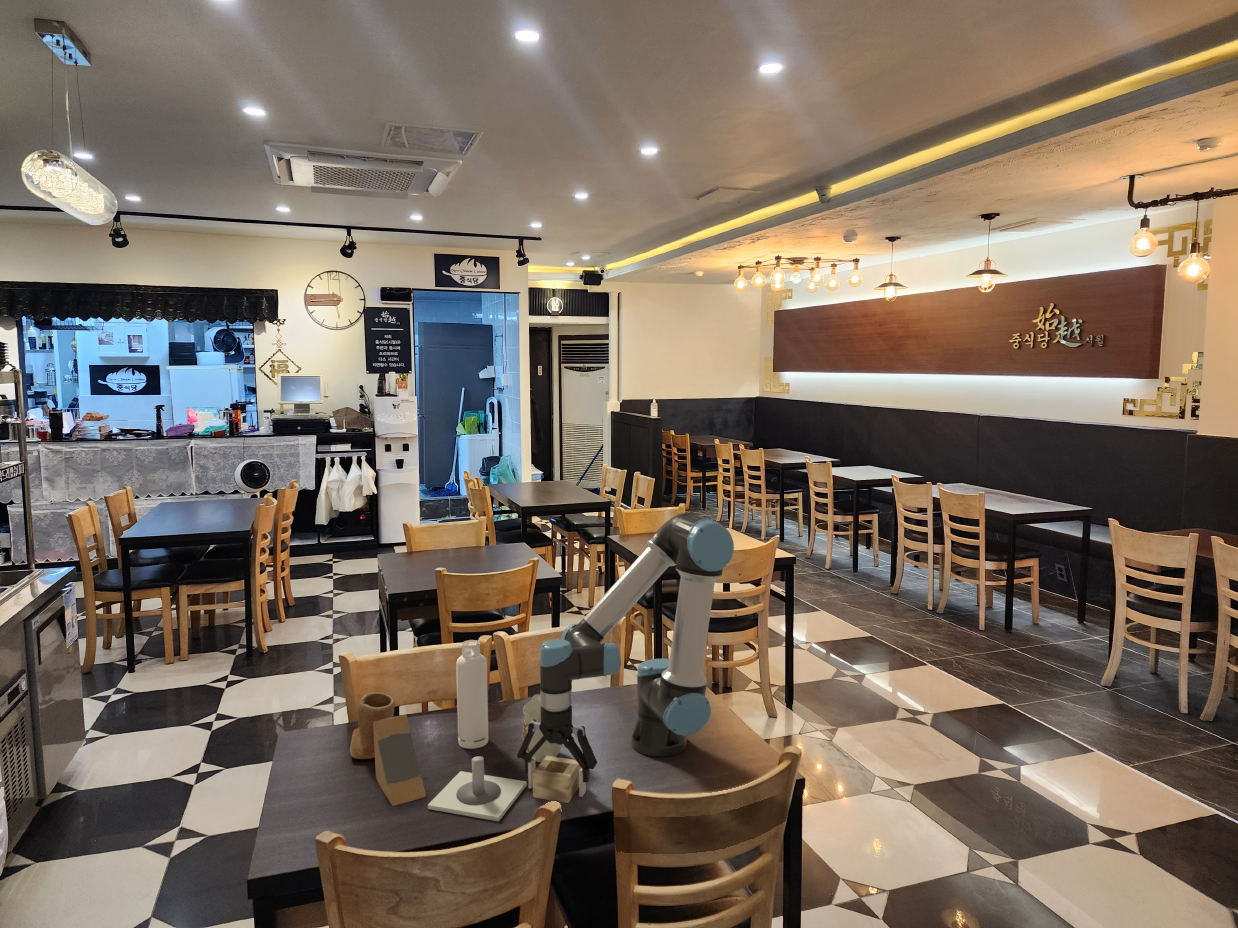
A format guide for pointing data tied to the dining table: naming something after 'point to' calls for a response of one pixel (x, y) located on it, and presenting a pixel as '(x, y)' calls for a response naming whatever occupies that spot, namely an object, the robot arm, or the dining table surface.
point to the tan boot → (370, 723)
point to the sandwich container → (397, 761)
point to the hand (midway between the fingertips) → (557, 789)
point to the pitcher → (534, 712)
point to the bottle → (472, 697)
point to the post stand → (478, 794)
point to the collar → (556, 779)
